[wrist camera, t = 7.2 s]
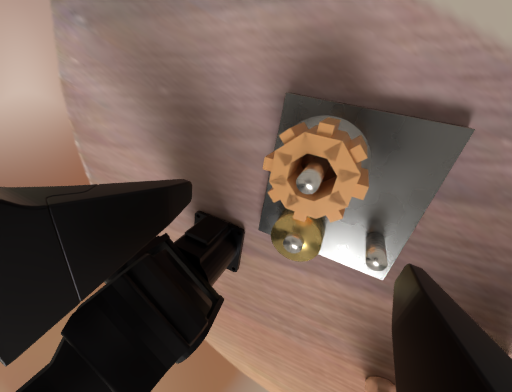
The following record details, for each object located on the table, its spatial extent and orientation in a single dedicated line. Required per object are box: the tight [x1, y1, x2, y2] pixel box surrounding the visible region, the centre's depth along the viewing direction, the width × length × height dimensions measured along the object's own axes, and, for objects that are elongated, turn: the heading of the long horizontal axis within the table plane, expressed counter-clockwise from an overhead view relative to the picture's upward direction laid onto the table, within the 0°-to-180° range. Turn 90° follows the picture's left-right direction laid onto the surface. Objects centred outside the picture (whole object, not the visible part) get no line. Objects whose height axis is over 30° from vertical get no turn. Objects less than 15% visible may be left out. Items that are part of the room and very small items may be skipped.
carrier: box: [258, 93, 475, 280], centre depth 16 cm, size 13×12×6 cm
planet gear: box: [263, 117, 369, 223], centre depth 16 cm, size 7×7×4 cm
